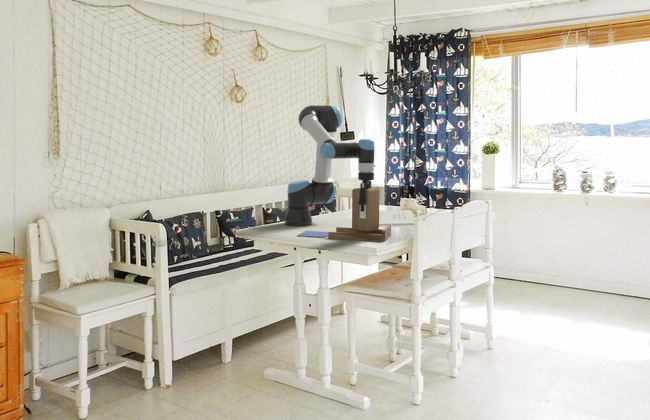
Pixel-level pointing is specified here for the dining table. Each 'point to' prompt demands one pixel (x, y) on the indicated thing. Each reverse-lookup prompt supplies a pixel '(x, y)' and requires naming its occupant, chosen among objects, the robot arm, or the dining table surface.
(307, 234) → the blue square plate
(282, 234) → the dining table surface
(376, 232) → the frame
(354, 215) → the wooden block
